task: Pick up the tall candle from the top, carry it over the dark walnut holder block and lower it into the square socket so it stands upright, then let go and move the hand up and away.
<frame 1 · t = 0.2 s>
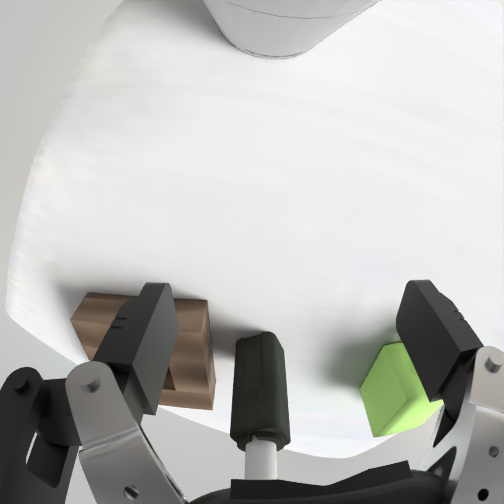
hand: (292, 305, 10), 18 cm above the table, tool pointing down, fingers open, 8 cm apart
candle: (260, 347, 36), on the table
green square pitcher: (397, 367, 39), on the table
holder: (154, 342, 36), on the table
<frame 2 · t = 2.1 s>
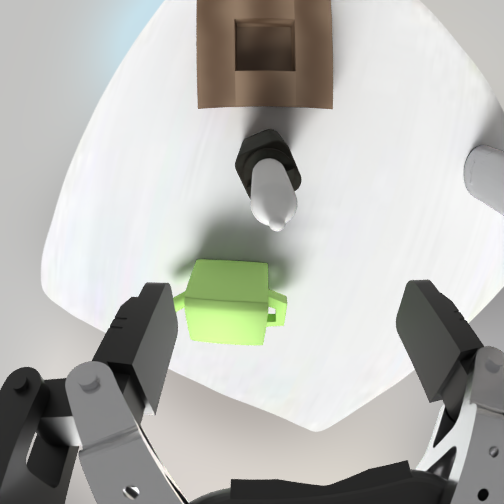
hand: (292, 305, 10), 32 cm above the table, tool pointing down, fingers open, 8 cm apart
candle: (264, 151, 38), on the table
green square pitcher: (226, 286, 48), on the table
holder: (264, 51, 31), on the table
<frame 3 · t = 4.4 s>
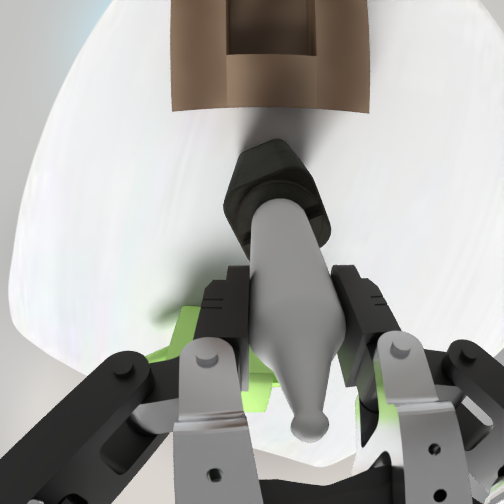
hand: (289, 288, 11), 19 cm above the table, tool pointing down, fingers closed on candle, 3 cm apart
candle: (269, 169, 28), on the table, touching gripper
green square pitcher: (220, 336, 38), on the table
holder: (268, 30, 21), on the table
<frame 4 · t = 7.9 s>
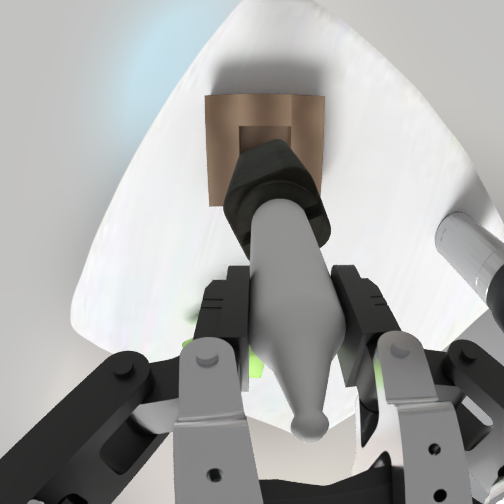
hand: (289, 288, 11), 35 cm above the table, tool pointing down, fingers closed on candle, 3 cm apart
candle: (269, 169, 28), point 16 cm above the table, touching gripper
green square pitcher: (232, 329, 58), on the table
holder: (264, 145, 42), on the table
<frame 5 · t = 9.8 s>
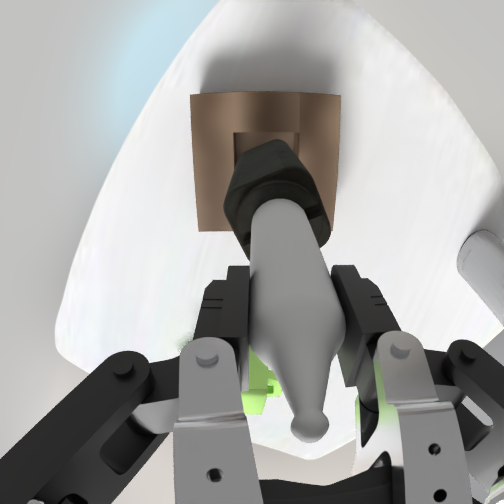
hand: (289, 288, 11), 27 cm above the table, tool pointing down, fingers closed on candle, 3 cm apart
candle: (269, 169, 28), point 8 cm above the table, touching gripper
green square pitcher: (229, 359, 51), on the table
holder: (264, 155, 34), on the table
when the fingers open (21 cm above the table, at t = 11.5 s): candle drops 1 cm, resting on holder.
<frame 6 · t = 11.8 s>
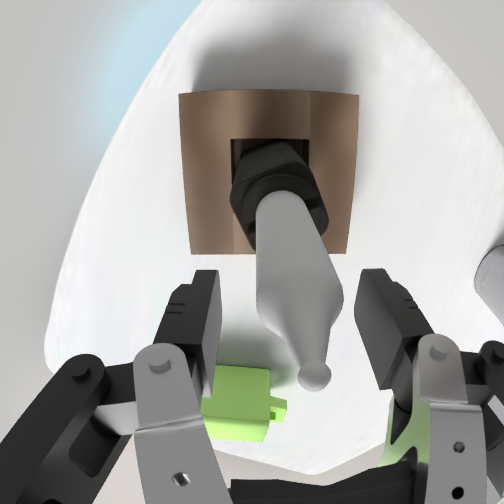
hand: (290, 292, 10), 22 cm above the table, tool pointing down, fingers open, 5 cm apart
candle: (270, 167, 29), point 1 cm above the table, touching holder
green square pitcher: (228, 382, 46), on the table
holder: (267, 164, 30), on the table
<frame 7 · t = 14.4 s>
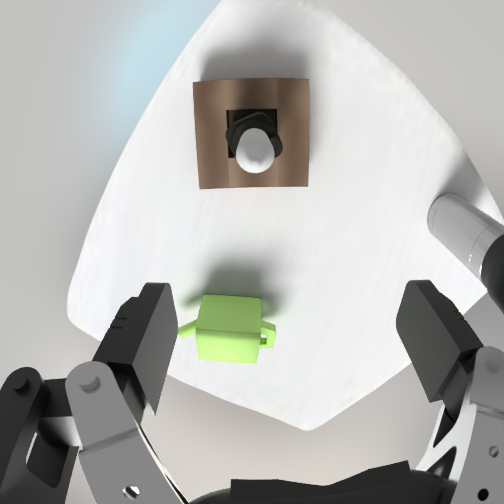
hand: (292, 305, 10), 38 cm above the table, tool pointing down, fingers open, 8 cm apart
candle: (253, 131, 41), point 1 cm above the table, touching holder
green square pitcher: (226, 314, 58), on the table
holder: (252, 130, 42), on the table
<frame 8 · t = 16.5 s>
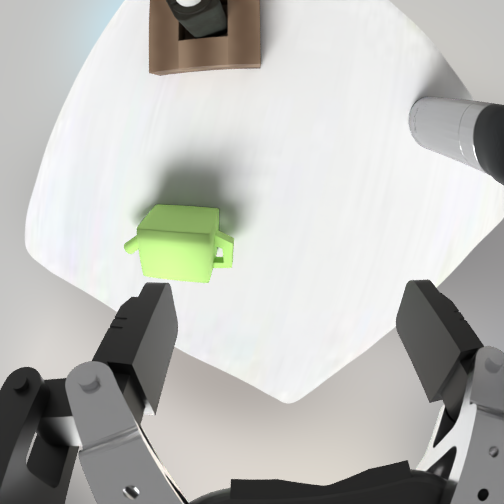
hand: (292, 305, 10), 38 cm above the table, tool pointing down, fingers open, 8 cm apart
candle: (208, 24, 34), point 1 cm above the table, touching holder
green square pitcher: (182, 232, 51), on the table
holder: (208, 25, 35), on the table
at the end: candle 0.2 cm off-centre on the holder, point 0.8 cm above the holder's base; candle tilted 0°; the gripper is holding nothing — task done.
